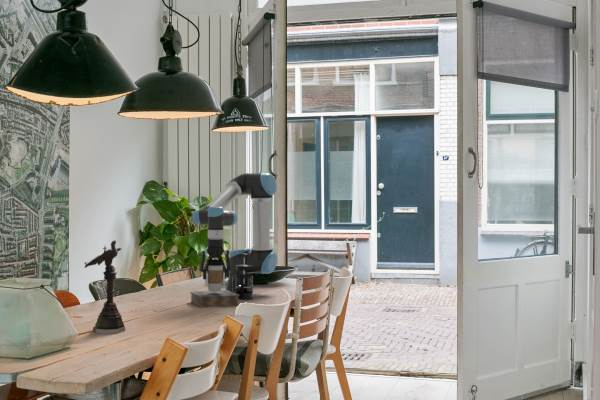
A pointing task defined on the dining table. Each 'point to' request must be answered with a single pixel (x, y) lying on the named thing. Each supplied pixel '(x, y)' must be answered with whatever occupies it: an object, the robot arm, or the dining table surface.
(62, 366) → the dining table surface
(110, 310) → the bird statue
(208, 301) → the walnut stand
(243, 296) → the french press
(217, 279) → the coffee cup
